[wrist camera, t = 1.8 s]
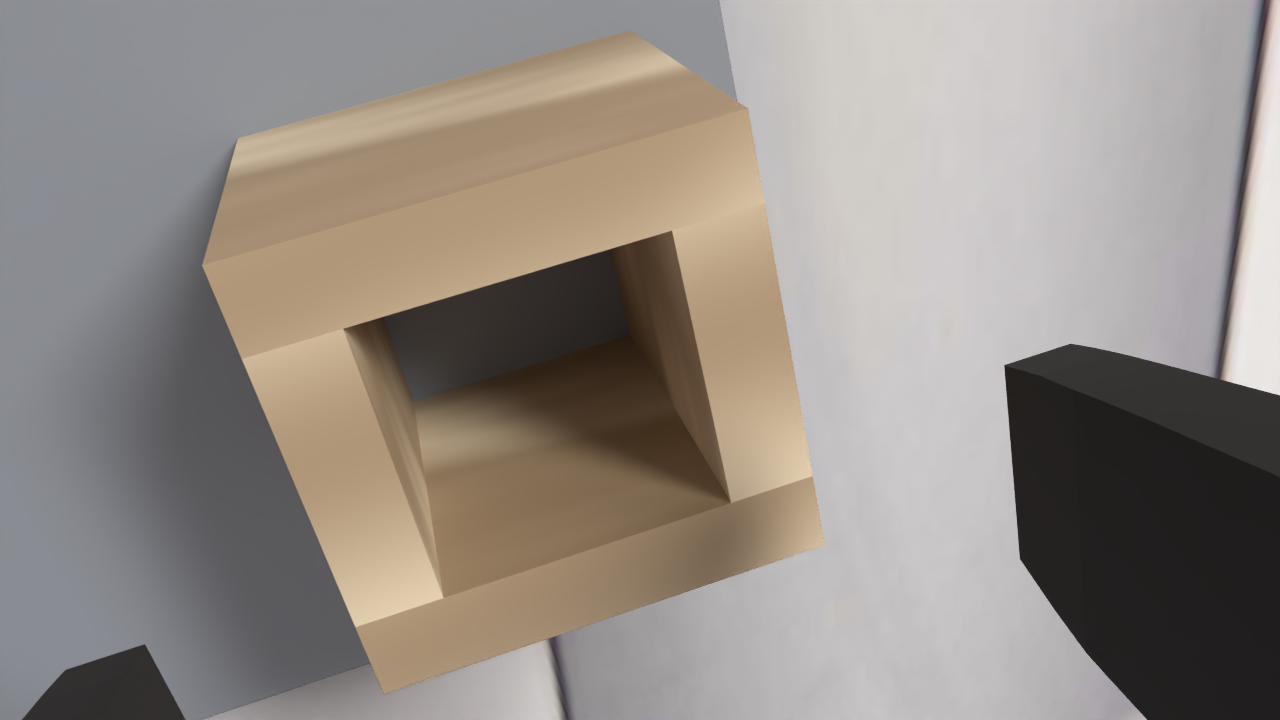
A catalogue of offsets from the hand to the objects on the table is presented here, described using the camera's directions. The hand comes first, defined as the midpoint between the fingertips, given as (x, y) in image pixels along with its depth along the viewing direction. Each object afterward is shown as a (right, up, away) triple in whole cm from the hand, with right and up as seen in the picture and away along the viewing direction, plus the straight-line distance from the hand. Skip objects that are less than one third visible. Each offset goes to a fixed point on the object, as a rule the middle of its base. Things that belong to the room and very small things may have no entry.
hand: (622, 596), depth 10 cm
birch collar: (-2, +3, +7) cm, 8 cm away
